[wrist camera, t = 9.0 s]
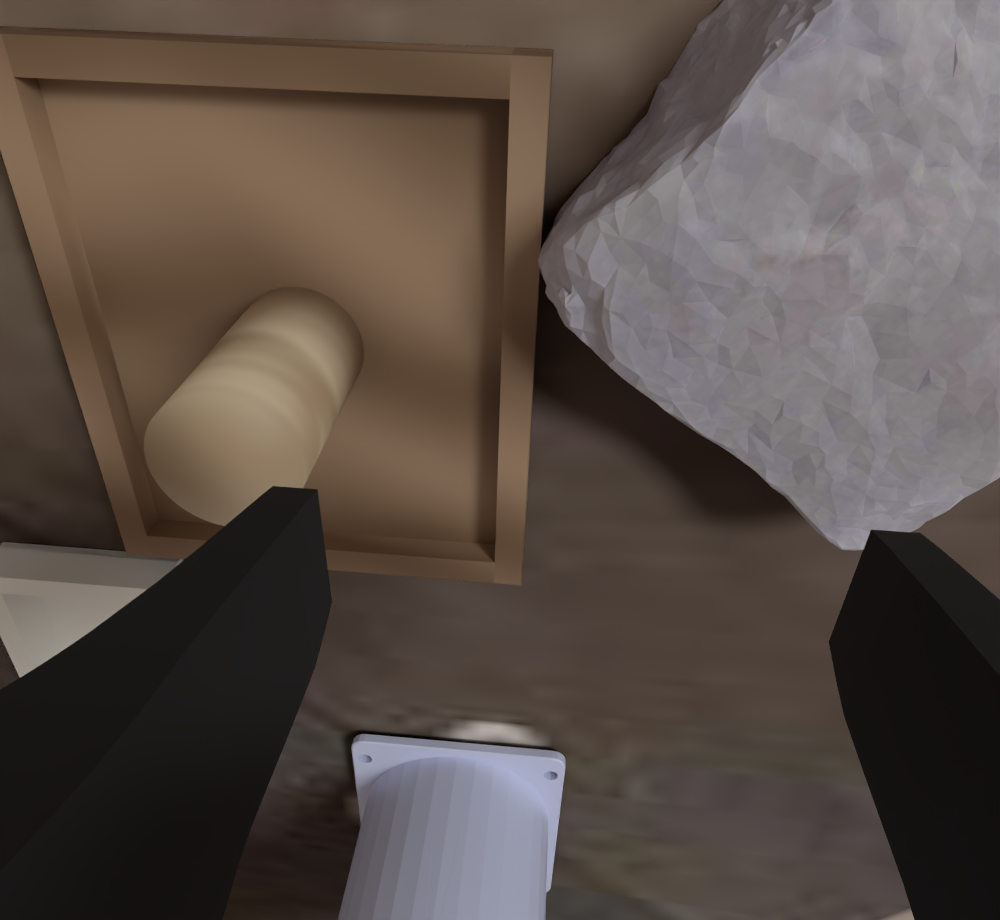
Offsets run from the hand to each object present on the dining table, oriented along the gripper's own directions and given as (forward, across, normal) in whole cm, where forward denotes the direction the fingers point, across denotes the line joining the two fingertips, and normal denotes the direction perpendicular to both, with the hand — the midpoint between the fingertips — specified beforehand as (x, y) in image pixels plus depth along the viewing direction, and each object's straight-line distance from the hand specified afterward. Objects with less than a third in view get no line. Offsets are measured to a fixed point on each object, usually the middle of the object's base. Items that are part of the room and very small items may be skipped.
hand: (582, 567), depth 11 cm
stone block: (+11, -6, -1) cm, 13 cm away
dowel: (+10, +7, +2) cm, 12 cm away
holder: (+10, +15, +13) cm, 22 cm away
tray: (+10, +7, +2) cm, 13 cm away
